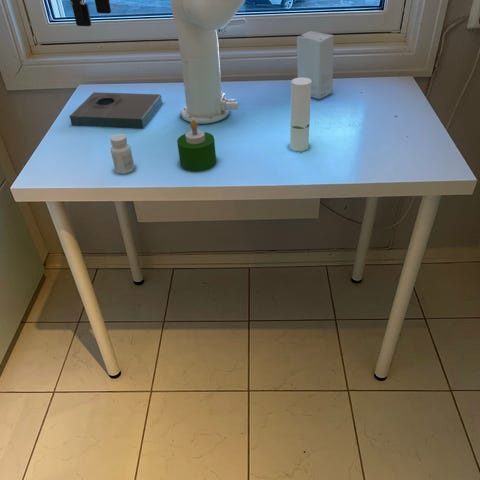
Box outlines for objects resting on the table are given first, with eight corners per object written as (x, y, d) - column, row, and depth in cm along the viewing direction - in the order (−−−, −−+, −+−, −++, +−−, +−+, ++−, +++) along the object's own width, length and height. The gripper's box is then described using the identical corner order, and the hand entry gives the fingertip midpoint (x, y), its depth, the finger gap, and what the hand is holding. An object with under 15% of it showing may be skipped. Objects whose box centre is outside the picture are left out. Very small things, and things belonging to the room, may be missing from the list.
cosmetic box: (332, 93, 144) (336, 34, 133) (318, 100, 141) (321, 41, 130) (309, 86, 148) (311, 29, 138) (295, 93, 145) (296, 34, 135)
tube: (287, 145, 123) (287, 79, 113) (303, 141, 124) (305, 76, 114) (295, 152, 120) (297, 86, 110) (311, 148, 122) (315, 82, 111)
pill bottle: (136, 164, 120) (130, 132, 115) (132, 174, 117) (125, 141, 112) (118, 164, 121) (110, 132, 115) (113, 174, 118) (105, 141, 112)
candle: (180, 155, 122) (174, 113, 115) (215, 152, 123) (211, 110, 116) (180, 172, 116) (173, 129, 109) (216, 169, 117) (213, 126, 110)
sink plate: (162, 103, 145) (160, 94, 143) (143, 128, 134) (141, 119, 132) (95, 101, 149) (93, 92, 147) (71, 125, 138) (69, 116, 136)
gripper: (70, -75, 92) (92, 31, 104) (111, -88, 104) (126, 9, 116) (33, -75, 94) (59, 30, 106) (77, -88, 106) (96, 8, 118)
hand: (94, 19), depth 111 cm, fingers open, 9 cm apart
